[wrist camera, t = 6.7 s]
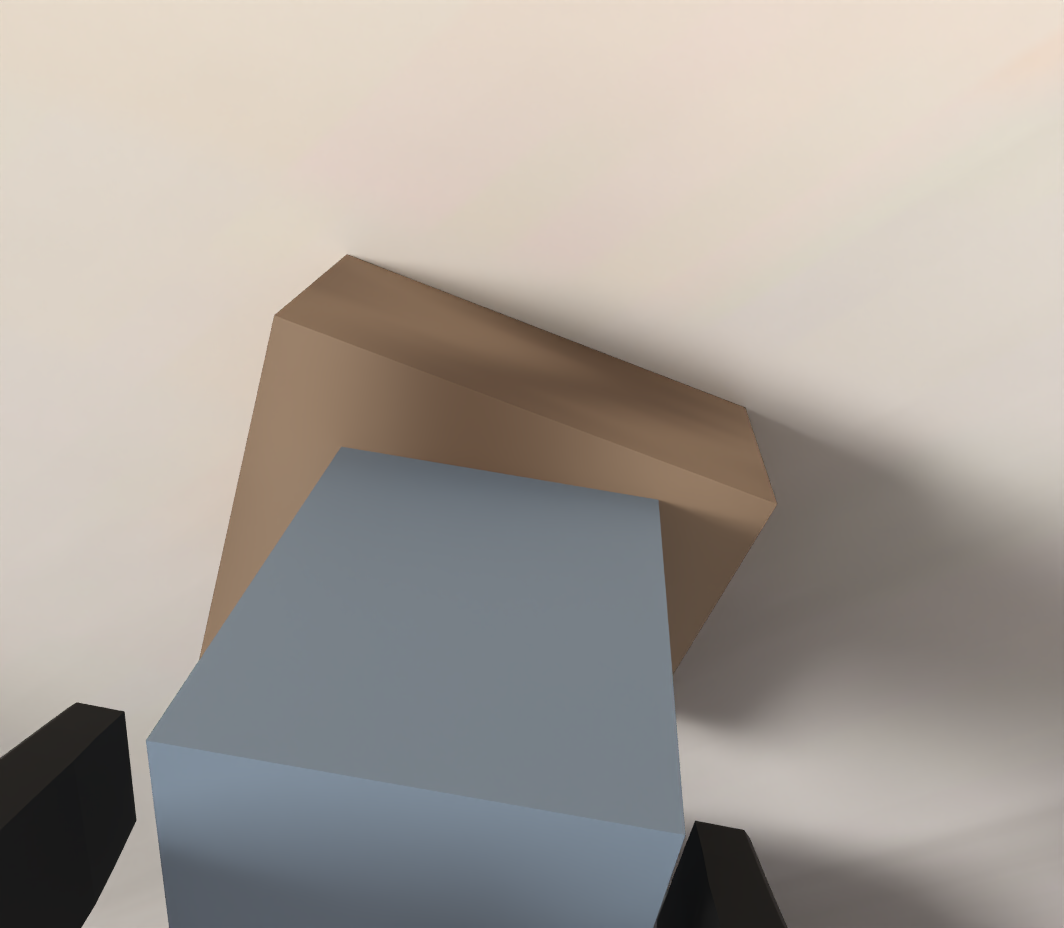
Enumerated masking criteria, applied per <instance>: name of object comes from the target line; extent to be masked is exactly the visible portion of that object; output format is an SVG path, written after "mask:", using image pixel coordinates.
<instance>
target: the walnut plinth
mask: <svg viewBox="0 0 1064 928" xmlns="http://www.w3.org/2000/svg"><path fill="white" fill-rule="evenodd" d="M341 447H346V448H352V449H358V450H364V451H370V452H376V453H382V454H388V455H394V456H400V457H406V458H412V459H418V460H424V461H430V462H436V463H442V464H448V465H454V466H460V467H466V468H472V469H478V470H484V471H490V472H496V473H502V474H508V475H514V476H520V477H526V478H532V479H538V480H544V481H550V482H556V483H562V484H567V485H573V486H579V487H585V488H591V489H597V490H603V491H609V492H615V493H621V494H627V495H633V496H639V497H645V498H651V499H657V500H659V513H660V525H661V538H662V550H663V563H664V575H665V588H666V600H667V613H668V625H669V638H670V650H671V663H672V675H673V674H674V672H675V670H676V669H677V667H678V665H679V664H680V662H681V661H682V659H683V657H684V656H685V654H686V652H687V651H688V649H689V648H690V646H691V644H692V643H693V641H694V639H695V638H696V636H697V634H698V633H699V631H700V630H701V628H702V626H703V625H704V623H705V621H706V620H707V618H708V616H709V615H710V613H711V612H712V610H713V608H714V607H715V605H716V603H717V602H718V600H719V598H720V597H721V595H722V594H723V592H724V590H725V589H726V587H727V585H728V584H729V582H730V580H731V579H732V577H733V576H734V574H735V572H736V571H737V569H738V567H739V566H740V564H741V563H742V561H743V559H744V558H745V556H746V554H747V553H748V551H749V549H750V548H751V546H752V545H753V543H754V541H755V540H756V538H757V536H758V535H759V533H760V531H761V530H762V528H763V527H764V525H765V523H766V522H767V520H768V518H769V517H770V515H771V513H772V512H773V510H774V509H775V507H776V505H777V502H776V499H775V496H774V493H773V490H772V487H771V484H770V481H769V478H768V475H767V472H766V469H765V466H764V463H763V460H762V457H761V454H760V451H759V448H758V445H757V442H756V439H755V436H754V433H753V430H752V426H751V423H750V420H749V417H748V414H747V411H746V408H745V407H742V406H739V405H737V404H734V403H732V402H729V401H726V400H724V399H721V398H719V397H716V396H713V395H711V394H708V393H706V392H703V391H700V390H698V389H695V388H693V387H690V386H688V385H685V384H682V383H680V382H677V381H675V380H672V379H669V378H667V377H664V376H662V375H659V374H656V373H654V372H651V371H649V370H646V369H643V368H641V367H638V366H636V365H633V364H630V363H628V362H625V361H623V360H620V359H617V358H615V357H612V356H610V355H607V354H604V353H602V352H599V351H597V350H594V349H591V348H589V347H586V346H584V345H581V344H578V343H576V342H573V341H571V340H568V339H565V338H563V337H560V336H558V335H555V334H552V333H550V332H547V331H545V330H542V329H539V328H537V327H534V326H532V325H529V324H527V323H524V322H521V321H519V320H516V319H514V318H511V317H508V316H506V315H503V314H501V313H498V312H495V311H493V310H490V309H488V308H485V307H482V306H480V305H477V304H475V303H472V302H469V301H467V300H464V299H462V298H459V297H456V296H454V295H451V294H449V293H446V292H443V291H441V290H438V289H436V288H433V287H430V286H428V285H425V284H423V283H420V282H417V281H415V280H412V279H410V278H407V277H404V276H402V275H399V274H397V273H394V272H391V271H389V270H386V269H384V268H381V267H378V266H376V265H373V264H371V263H368V262H366V261H363V260H360V259H358V258H355V257H353V256H350V255H346V256H344V257H343V258H342V259H341V260H340V261H338V262H337V263H336V264H335V265H334V266H333V267H331V268H330V269H329V270H328V271H327V272H325V273H324V274H323V275H322V276H321V277H319V278H318V279H317V280H316V281H315V282H313V283H312V284H311V285H310V286H309V287H308V288H306V289H305V290H304V291H303V292H302V293H300V294H299V295H298V296H297V297H296V298H294V299H293V300H292V301H291V302H290V303H288V304H287V305H286V306H285V307H284V308H282V309H281V310H280V311H279V312H278V313H277V314H275V315H274V319H273V323H272V328H271V333H270V337H269V342H268V346H267V351H266V356H265V360H264V365H263V369H262V374H261V378H260V383H259V388H258V392H257V397H256V401H255V406H254V411H253V415H252V420H251V424H250V429H249V434H248V438H247V443H246V447H245V452H244V456H243V461H242V466H241V470H240V475H239V479H238V484H237V489H236V493H235V498H234V502H233V507H232V511H231V516H230V521H229V525H228V530H227V534H226V539H225V544H224V548H223V553H222V557H221V562H220V566H219V571H218V576H217V580H216V585H215V589H214V594H213V599H212V603H211V608H210V612H209V617H208V622H207V626H206V631H205V635H204V640H203V644H202V649H201V654H200V658H201V657H202V655H203V654H204V652H205V651H206V649H207V648H208V646H209V645H210V643H211V642H212V640H213V639H214V637H215V636H216V634H217V633H218V631H219V630H220V628H221V627H222V625H223V624H224V622H225V621H226V619H227V618H228V616H229V615H230V613H231V612H232V610H233V609H234V607H235V606H236V604H237V603H238V601H239V600H240V598H241V597H242V595H243V594H244V592H245V591H246V589H247V588H248V586H249V585H250V583H251V582H252V580H253V579H254V577H255V576H256V574H257V573H258V571H259V570H260V568H261V567H262V565H263V564H264V562H265V561H266V559H267V558H268V556H269V555H270V553H271V552H272V550H273V549H274V547H275V546H276V544H277V543H278V541H279V540H280V538H281V537H282V535H283V533H284V532H285V530H286V529H287V527H288V526H289V524H290V523H291V521H292V520H293V518H294V517H295V515H296V514H297V512H298V511H299V509H300V508H301V506H302V505H303V503H304V502H305V500H306V499H307V497H308V496H309V494H310V493H311V491H312V490H313V488H314V487H315V485H316V484H317V482H318V481H319V479H320V478H321V476H322V475H323V473H324V472H325V470H326V469H327V467H328V466H329V464H330V463H331V461H332V460H333V458H334V457H335V455H336V454H337V452H338V451H339V449H340V448H341ZM200 658H199V660H200Z"/></svg>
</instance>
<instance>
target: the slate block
mask: <svg viewBox="0 0 1064 928" xmlns="http://www.w3.org/2000/svg"><path fill="white" fill-rule="evenodd" d="M146 744H147V752H148V760H149V769H150V777H151V785H152V793H153V801H154V809H155V817H156V825H157V833H158V841H159V850H160V858H161V866H162V874H163V882H164V890H165V898H166V906H167V914H168V922H169V928H653V927H654V924H655V921H656V918H657V915H658V912H659V910H660V907H661V904H662V901H663V898H664V895H665V892H666V889H667V887H668V884H669V881H670V878H671V875H672V872H673V869H674V866H675V863H676V861H677V858H678V855H679V852H680V849H681V846H682V843H683V840H684V838H685V825H684V812H683V800H682V787H681V775H680V762H679V750H678V738H677V725H676V713H675V700H674V688H673V675H672V663H671V650H670V638H669V625H668V613H667V600H666V588H665V575H664V563H663V550H662V538H661V525H660V513H659V500H657V499H651V498H645V497H639V496H633V495H627V494H621V493H615V492H609V491H603V490H597V489H591V488H585V487H579V486H573V485H567V484H562V483H556V482H550V481H544V480H538V479H532V478H526V477H520V476H514V475H508V474H502V473H496V472H490V471H484V470H478V469H472V468H466V467H460V466H454V465H448V464H442V463H436V462H430V461H424V460H418V459H412V458H406V457H400V456H394V455H388V454H382V453H376V452H370V451H364V450H358V449H352V448H346V447H341V448H340V449H339V451H338V452H337V454H336V455H335V457H334V458H333V460H332V461H331V463H330V464H329V466H328V467H327V469H326V470H325V472H324V473H323V475H322V476H321V478H320V479H319V481H318V482H317V484H316V485H315V487H314V488H313V490H312V491H311V493H310V494H309V496H308V497H307V499H306V500H305V502H304V503H303V505H302V506H301V508H300V509H299V511H298V512H297V514H296V515H295V517H294V518H293V520H292V521H291V523H290V524H289V526H288V527H287V529H286V530H285V532H284V533H283V535H282V537H281V538H280V540H279V541H278V543H277V544H276V546H275V547H274V549H273V550H272V552H271V553H270V555H269V556H268V558H267V559H266V561H265V562H264V564H263V565H262V567H261V568H260V570H259V571H258V573H257V574H256V576H255V577H254V579H253V580H252V582H251V583H250V585H249V586H248V588H247V589H246V591H245V592H244V594H243V595H242V597H241V598H240V600H239V601H238V603H237V604H236V606H235V607H234V609H233V610H232V612H231V613H230V615H229V616H228V618H227V619H226V621H225V622H224V624H223V625H222V627H221V628H220V630H219V631H218V633H217V634H216V636H215V637H214V639H213V640H212V642H211V643H210V645H209V646H208V648H207V649H206V651H205V652H204V654H203V655H202V657H201V658H200V660H199V661H198V663H197V664H196V666H195V667H194V669H193V670H192V672H191V674H190V675H189V677H188V678H187V680H186V681H185V683H184V684H183V686H182V687H181V689H180V690H179V692H178V693H177V695H176V696H175V698H174V699H173V701H172V702H171V704H170V705H169V707H168V708H167V710H166V711H165V713H164V714H163V716H162V717H161V719H160V720H159V722H158V723H157V725H156V726H155V728H154V729H153V731H152V732H151V734H150V735H149V737H148V738H147V740H146Z"/></svg>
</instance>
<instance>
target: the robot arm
mask: <svg viewBox="0 0 1064 928" xmlns="http://www.w3.org/2000/svg"><path fill="white" fill-rule="evenodd" d="M135 822H136V813H135V804H134V794H133V785H132V776H131V767H130V758H129V749H128V740H127V731H126V721H125V712H124V711H119V710H114V709H108V708H103V707H98V706H93V705H88V704H82V703H75V704H74V705H72V706H70V707H69V708H67V709H66V710H65V711H63V712H62V713H61V714H59V715H58V716H56V717H55V718H54V719H52V720H51V721H50V722H48V723H47V724H45V725H44V726H43V727H41V728H40V729H39V730H37V731H36V732H35V733H33V734H32V735H31V736H29V737H28V738H27V739H25V740H24V741H23V742H21V743H20V744H18V745H17V746H16V747H14V748H13V749H12V750H10V751H9V752H8V753H6V754H5V755H4V756H2V757H1V758H0V928H81V927H82V926H83V924H84V922H85V921H86V919H87V917H88V916H89V914H90V913H91V911H92V909H93V908H94V906H95V904H96V902H97V900H98V898H99V896H100V894H101V892H102V890H103V888H104V887H105V885H106V883H107V881H108V879H109V877H110V875H111V873H112V871H113V869H114V867H115V865H116V862H117V860H118V858H119V856H120V854H121V852H122V850H123V848H124V846H125V843H126V841H127V839H128V837H129V835H130V833H131V831H132V829H133V827H134V824H135ZM657 928H787V926H786V923H785V921H784V919H783V917H782V914H781V912H780V910H779V907H778V905H777V903H776V900H775V898H774V896H773V893H772V891H771V889H770V886H769V884H768V882H767V879H766V877H765V874H764V872H763V869H762V867H761V865H760V862H759V860H758V857H757V855H756V852H755V850H754V847H753V845H752V842H751V840H750V838H749V836H748V835H747V834H746V832H745V831H744V830H741V829H735V828H730V827H725V826H720V825H715V824H709V823H704V822H699V821H695V823H694V825H693V828H692V830H691V833H690V836H689V838H688V841H687V843H686V846H685V849H684V851H683V854H682V856H681V859H680V862H679V864H678V867H677V870H676V872H675V875H674V877H673V880H672V883H671V885H670V888H669V890H668V893H667V896H666V898H665V901H664V903H663V906H662V909H661V911H660V914H659V916H658V919H657Z"/></svg>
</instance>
